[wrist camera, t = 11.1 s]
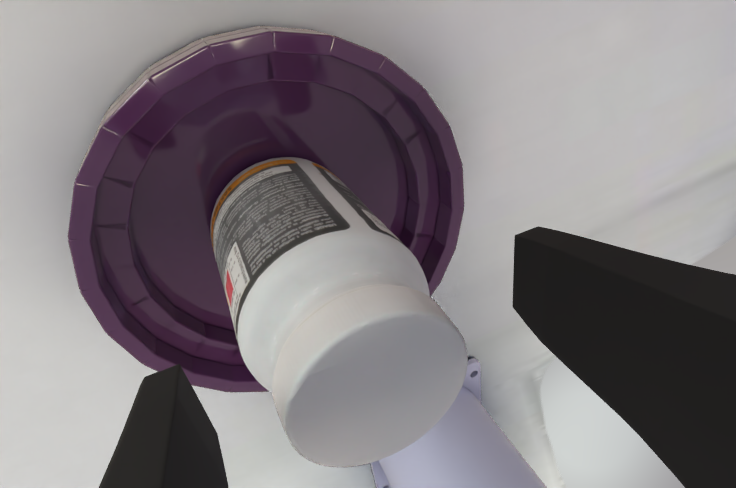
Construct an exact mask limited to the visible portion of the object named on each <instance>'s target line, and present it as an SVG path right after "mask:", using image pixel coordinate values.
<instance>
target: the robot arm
mask: <svg viewBox="0 0 736 488" xmlns="http://www.w3.org/2000/svg"><path fill="white" fill-rule="evenodd" d="M513 308H514V309H515V310H516V312H517V313H518V314H519V315H520V317H521V318H522V319H523V320H524V322H525V323H526V324H527V326H528V327H529V328H530V329H531V330H532V331H533V333H534V334H535V335H536V336H537V337H538V339H539V340H540V341H541V342H542V343H543V344H544V345H545V346H546V347H547V348H548V349H549V350H550V351H551V352H552V353H553V354H554V355H555V356H556V357H558V358H559V359H560V360H561V361H562V362H563V363H564V364H565V365H566V366H567V367H568V368H569V369H570V370H571V371H572V372H573V373H574V374H576V375H577V376H578V377H579V378H580V379H581V380H582V381H583V382H584V383H585V384H586V385H587V386H589V387H590V388H591V389H592V390H593V391H594V392H595V393H596V394H597V395H598V396H599V397H600V398H601V399H602V400H603V401H604V402H606V403H607V404H608V405H609V406H610V407H611V408H612V409H613V410H615V412H616V413H618V415H620V416H621V417H622V418H623V419H624V420H625V421H626V422H627V423H628V424H629V425H630V427H631V428H633V430H635V432H637V434H639V436H640V437H641V438H642V439H643V440H644V441H645V442H646V443H647V445H648V446H649V447H650V448H651V449H652V450H653V451H654V452H655V454H656V455H657V456H658V457H659V458H660V459H661V460H662V461H663V463H664V464H665V465H666V466H667V467H668V468H669V469H670V470H671V471H672V473H673V474H674V475H675V476H676V477H677V478H678V480H679V481H680V482H681V483H682V484H683V486H684V487H685V488H736V275H734V274H728V273H723V272H719V271H714V270H710V269H705V268H701V267H696V266H692V265H688V264H683V263H679V262H675V261H671V260H667V259H663V258H659V257H655V256H651V255H647V254H643V253H639V252H636V251H632V250H628V249H624V248H621V247H617V246H613V245H610V244H606V243H602V242H599V241H595V240H591V239H588V238H584V237H580V236H576V235H572V234H569V233H565V232H561V231H557V230H552V229H547V228H542V227H536V228H533V229H530V230H528V231H525V232H523V233H520V234H517V235H515V247H514V281H513ZM370 464H371V468H372V472H373V476H374V480H375V484H376V488H547V487H546V486H545V485H544V483H543V482H542V481H541V479H540V478H539V477H538V476H537V474H536V473H535V472H534V471H533V469H532V468H531V467H530V465H529V464H528V463H527V462H526V460H525V459H524V458H523V457H522V455H521V454H520V453H519V451H518V450H517V449H516V448H515V446H514V445H513V444H512V443H511V441H510V440H509V439H508V437H507V436H506V435H505V434H504V432H503V431H502V430H501V429H500V427H499V426H498V425H497V423H496V422H495V421H494V420H493V418H492V417H491V416H490V415H489V413H488V412H487V411H486V409H485V408H484V407H483V406H482V404H481V366H480V362H479V361H478V360H477V359H476V358H472V359H469V360H468V364H467V372H466V376H465V379H464V382H463V386H462V388H461V390H460V392H459V394H458V396H457V397H456V399H455V401H454V402H453V404H452V405H451V407H450V408H449V410H448V411H447V412H446V413H445V415H444V416H443V417H442V418H441V419H440V420H439V421H438V423H437V424H436V425H435V426H433V427H432V428H431V429H430V430H429V431H428V432H427V433H425V434H424V435H423V436H422V437H421V438H419V439H418V440H417V441H415V442H414V443H412V444H411V445H409V446H407V447H406V448H404V449H402V450H400V451H399V452H397V453H395V454H393V455H390V456H388V457H385V458H383V459H381V460H378V461H375V462H372V463H370ZM99 488H228V482H227V477H226V473H225V468H224V463H223V458H222V454H221V449H220V445H219V440H218V436H217V432H216V431H215V429H214V427H213V425H212V423H211V421H210V419H209V417H208V416H207V414H206V412H205V410H204V408H203V406H202V404H201V403H200V401H199V399H198V397H197V395H196V393H195V391H194V389H193V388H192V386H191V384H190V382H189V380H188V378H187V376H186V375H185V373H184V371H183V369H182V367H181V365H180V364H178V365H175V366H173V367H170V368H167V369H165V370H162V371H159V372H157V373H154V374H152V375H149V376H146V377H145V378H144V379H143V381H142V383H141V385H140V388H139V390H138V393H137V395H136V398H135V401H134V403H133V406H132V409H131V411H130V414H129V416H128V419H127V421H126V424H125V427H124V429H123V432H122V434H121V437H120V439H119V441H118V444H117V446H116V449H115V451H114V454H113V456H112V458H111V461H110V463H109V465H108V468H107V470H106V472H105V475H104V477H103V479H102V481H101V484H100V486H99Z"/></svg>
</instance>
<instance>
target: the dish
mask: <svg viewBox="0 0 736 488" xmlns="http://www.w3.org/2000/svg"><path fill="white" fill-rule="evenodd" d="M280 157H296V158H302V159H306V160H309V161H312V162H314V163H316V164H319V165H321V166H323V167H324V168H326V169H328V170H329V171H330V172H331V173H333V174H334V175H335V176H337V177H338V178H339V179H340V180H341V181H342V182H343V183H344V184H345V185H346V186H347V187H348V188H349V189H350V190H351V191H352V192H353V193H354V194H355V195H356V196H357V197H358V198H359V199H360V200H361V201H362V202H363V203H364V205H365V206H366V207H367V208H368V209H369V210H370V211H371V212H372V213H373V214H374V215H375V216H376V217H377V218H378V219H379V220H380V221H381V222H382V223H383V224H384V225H385V226H386V227H387V228H388V229H389V230H390V231H391V232H392V233H393V234H394V235H395V236H396V237H397V238H398V239H399V240H400V241H401V242H402V243H403V244H404V245H405V246H406V247H407V248H408V249H409V250H410V251H411V252H412V253H413V255H414V256H415V257H416V259H417V260H418V262H419V264H420V266H421V268H422V270H423V272H424V275H425V277H426V280H427V283H428V288H429V293H430V296H431V295H432V294H433V292H434V291H435V289H436V288H437V287H438V285H439V283H440V282H441V280H442V278H443V276H444V273H445V271H446V269H447V267H448V265H449V262H450V260H451V258H452V256H453V253H454V251H455V249H456V245H457V241H458V236H459V231H460V226H461V221H462V216H463V211H464V208H463V207H464V188H463V168H462V162H461V159H460V156H459V153H458V150H457V147H456V143H455V140H454V137H453V134H452V131H451V128H450V126H449V124H448V122H447V121H446V119H445V118H444V116H443V115H442V113H441V112H440V110H439V109H438V107H437V106H436V104H435V103H434V101H433V100H432V98H431V97H430V96H429V94H428V93H427V91H426V90H425V88H423V86H422V85H421V84H419V83H418V82H417V81H416V80H414V79H413V78H412V77H411V76H409V75H408V74H407V73H406V72H404V71H403V70H402V69H401V68H399V67H398V66H397V65H396V64H394V63H393V62H392V61H391V60H390V59H388V58H387V57H385V56H383V55H382V54H380V53H377V52H375V51H372V50H369V49H367V48H364V47H362V46H359V45H357V44H354V43H352V42H349V41H347V40H344V39H341V38H339V37H336V36H333V35H330V34H326V33H323V32H319V31H315V30H309V29H297V28H285V27H272V26H260V27H258V26H254V27H250V28H245V29H240V30H235V31H231V32H226V33H221V34H217V35H212V36H207V37H204V38H203V40H202V39H198V40H196V41H194V42H193V43H191V44H189V45H187V46H185V47H183V48H182V49H180V50H178V51H176V52H174V53H172V54H171V55H169V56H167V57H165V58H163V59H161V60H160V61H158V62H156V63H154V64H152V65H151V66H150V68H147V69H146V70H145V71H144V72H143V73H142V74H141V75H140V76H139V77H138V78H137V79H136V80H135V81H134V82H133V83H132V84H131V85H130V86H129V87H128V88H127V89H126V91H125V92H124V93H123V94H122V95H121V96H120V97H119V98H118V99H117V100H116V101H115V102H114V103H113V104H112V105H111V106H110V107H109V110H108V111H106V113H105V115H104V117H103V119H102V121H101V123H100V125H99V127H98V129H97V131H96V134H95V136H94V138H93V140H92V142H91V144H90V146H89V148H88V150H87V152H86V154H85V156H84V158H83V161H82V163H81V166H80V169H79V171H78V174H77V176H76V179H75V182H74V188H73V197H72V205H71V214H70V222H69V230H68V243H69V247H70V251H71V256H72V260H73V264H74V269H75V273H76V278H77V282H78V286H79V289H80V293H81V294H82V296H83V297H84V299H85V300H86V302H87V304H88V305H89V307H90V308H91V310H92V312H93V313H94V315H95V316H96V318H97V320H98V321H99V323H100V324H101V326H102V328H103V329H104V331H105V332H106V333H107V334H108V335H109V336H110V337H111V338H112V339H113V340H115V341H116V342H117V343H118V344H119V345H120V346H122V347H123V348H124V349H125V350H126V351H128V352H129V353H130V354H131V355H132V356H133V357H135V358H136V359H137V360H138V361H139V362H141V363H142V364H144V365H145V366H147V367H149V368H152V369H154V370H156V371H158V372H159V371H162V370H165V369H167V368H170V367H173V366H175V365H178V364H180V365H181V367H182V369H183V371H184V373H185V375H186V376H187V378H188V380H189V382H190V384H191V385H193V386H199V387H204V388H209V389H214V390H219V391H224V392H269V391H268V390H267V389H266V388H264V387H263V386H262V385H261V384H260V383H259V382H258V381H257V380H256V379H255V378H254V376H253V375H252V374H251V372H250V371H249V369H248V368H247V366H246V364H245V363H244V360H243V358H242V356H241V353H240V350H239V346H238V342H237V339H236V334H235V330H234V326H233V321H232V317H231V313H230V309H229V305H228V302H227V298H226V294H225V291H224V287H223V284H222V280H221V277H220V273H219V269H218V266H217V262H216V259H215V254H214V250H213V246H212V241H211V230H210V224H211V217H212V212H213V209H214V206H215V203H216V201H217V199H218V197H219V195H220V194H221V192H222V191H223V189H224V188H225V187H226V186H227V184H228V183H229V182H230V181H231V180H232V179H233V178H234V177H235V176H236V175H238V174H239V173H240V172H241V171H243V170H245V169H247V168H248V167H250V166H252V165H254V164H256V163H259V162H262V161H265V160H268V159H271V158H280Z"/></svg>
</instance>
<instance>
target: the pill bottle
mask: <svg viewBox="0 0 736 488" xmlns="http://www.w3.org/2000/svg"><path fill="white" fill-rule="evenodd" d="M210 230H211V241H212V246H213V250H214V254H215V259H216V262H217V266H218V269H219V273H220V277H221V280H222V284H223V287H224V291H225V294H226V298H227V302H228V305H229V309H230V313H231V317H232V321H233V326H234V330H235V334H236V339H237V342H238V346H239V350H240V353H241V356H242V358H243V360H244V363H245V364H246V366H247V368H248V369H249V371H250V372H251V374H252V375H253V376H254V378H255V379H256V380H257V381H258V382H259V383H260V384H261V385H262V386H263V387H264V388H266V389H267V390H268V391H269V392H271V393H272V394H273V400H274V403H275V406H276V409H277V412H278V415H279V418H280V420H281V423H282V425H283V428H284V431H285V433H286V435H287V437H288V439H289V441H290V443H291V445H292V446H293V447H294V449H295V450H296V451H297V452H298V453H299V454H300V455H301V456H303V457H304V458H306V459H308V460H309V461H312V462H314V463H317V464H319V465H324V466H329V467H353V466H360V465H364V464H369V463H372V462H375V461H378V460H381V459H383V458H385V457H388V456H390V455H393V454H395V453H397V452H399V451H400V450H402V449H404V448H406V447H407V446H409V445H411V444H412V443H414V442H415V441H417V440H418V439H419V438H421V437H422V436H423V435H424V434H425V433H427V432H428V431H429V430H430V429H431V428H432V427H433V426H435V425H436V424H437V423H438V421H439V420H440V419H441V418H442V417H443V416H444V415H445V413H446V412H447V411H448V410H449V408H450V407H451V405H452V404H453V402H454V401H455V399H456V397H457V396H458V394H459V392H460V390H461V388H462V386H463V382H464V379H465V376H466V372H467V364H468V356H467V348H466V344H465V341H464V338H463V337H462V335H461V333H460V332H459V330H458V328H457V327H456V326H455V325H454V324H453V322H452V321H451V320H450V319H449V318H448V316H447V315H446V314H445V313H444V312H443V310H442V309H441V308H440V307H439V305H438V304H437V303H436V302H435V301H434V300H433V299H432V298H431V297H430V293H429V288H428V283H427V280H426V277H425V275H424V272H423V270H422V268H421V266H420V264H419V262H418V260H417V259H416V257H415V256H414V255H413V253H412V252H411V251H410V250H409V249H408V248H407V247H406V246H405V245H404V244H403V243H402V242H401V241H400V240H399V239H398V238H397V237H396V236H395V235H394V234H393V233H392V232H391V231H390V230H389V229H388V228H387V227H386V226H385V225H384V224H383V223H382V222H381V221H380V220H379V219H378V218H377V217H376V216H375V215H374V214H373V213H372V212H371V211H370V210H369V209H368V208H367V207H366V206H365V205H364V203H363V202H362V201H361V200H360V199H359V198H358V197H357V196H356V195H355V194H354V193H353V192H352V191H351V190H350V189H349V188H348V187H347V186H346V185H345V184H344V183H343V182H342V181H341V180H340V179H339V178H338V177H337V176H335V175H334V174H333V173H331V172H330V171H329V170H328V169H326V168H324V167H323V166H321V165H319V164H316V163H314V162H312V161H309V160H306V159H302V158H296V157H280V158H271V159H268V160H265V161H262V162H259V163H256V164H254V165H252V166H250V167H248V168H247V169H245V170H243V171H241V172H240V173H239V174H238V175H236V176H235V177H234V178H233V179H232V180H231V181H230V182H229V183H228V184H227V186H226V187H225V188H224V189H223V191H222V192H221V194H220V195H219V197H218V199H217V201H216V203H215V206H214V209H213V212H212V217H211V224H210Z"/></svg>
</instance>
